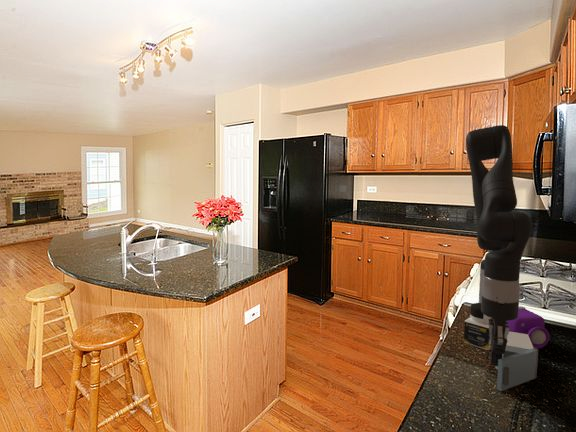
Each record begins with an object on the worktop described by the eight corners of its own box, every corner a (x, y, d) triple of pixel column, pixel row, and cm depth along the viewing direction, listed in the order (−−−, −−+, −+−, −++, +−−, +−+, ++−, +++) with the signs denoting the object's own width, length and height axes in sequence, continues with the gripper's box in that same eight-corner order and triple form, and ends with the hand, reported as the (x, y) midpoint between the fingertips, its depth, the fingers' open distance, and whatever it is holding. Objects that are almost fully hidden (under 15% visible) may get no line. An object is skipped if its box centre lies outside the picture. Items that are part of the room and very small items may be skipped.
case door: (496, 388, 81) (498, 359, 80) (532, 375, 86) (534, 347, 85) (503, 393, 79) (505, 362, 78) (540, 379, 84) (542, 350, 84)
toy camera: (530, 357, 95) (532, 323, 95) (489, 336, 109) (491, 306, 108) (559, 352, 98) (561, 318, 97) (516, 332, 111) (518, 302, 110)
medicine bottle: (463, 342, 105) (464, 304, 103) (472, 335, 109) (474, 299, 108) (488, 351, 99) (490, 311, 98) (497, 343, 104) (499, 305, 103)
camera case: (492, 352, 98) (494, 327, 98) (529, 359, 94) (531, 333, 94) (495, 369, 90) (497, 341, 89) (536, 377, 86) (538, 348, 85)
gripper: (480, 285, 88) (477, 349, 90) (483, 302, 77) (479, 375, 79) (515, 289, 85) (511, 355, 87) (523, 307, 73) (518, 383, 75)
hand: (496, 364), depth 83 cm, fingers closed
